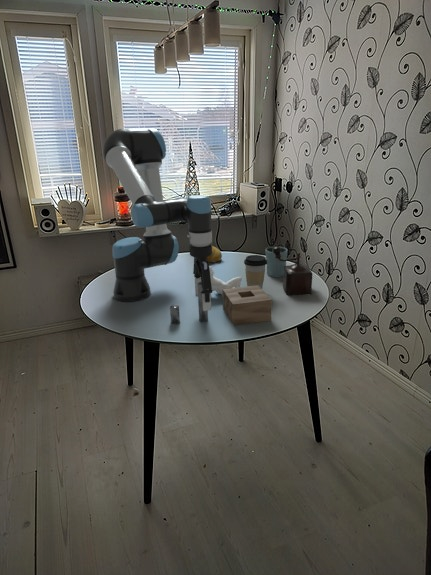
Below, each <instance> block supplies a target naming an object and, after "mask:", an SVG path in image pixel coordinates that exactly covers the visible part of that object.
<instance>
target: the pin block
mask: <svg viewBox="0 0 431 575" xmlns="http://www.w3.org/2000/svg"><path fill="white" fill-rule="evenodd" d="M272 304H273V301H272V298H271V297H270V296H269V295H268V294H267V293H266V292H265V290H263V288H262V289H261V288H260V287H259V286H258V285H256V286H240V287H239V288H235V287H234V288H230V289H223V294H222V310H223V311H224V313H225V314H226V316H227V318H228V319H229V321H230V322H231V324H232V326H236V325H237V326H238V325H246V324H252V323H253V324H254V323H259V322H269V321H271V320H272Z"/></svg>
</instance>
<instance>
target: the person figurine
mask: <svg viewBox="0 0 431 575" xmlns="http://www.w3.org/2000/svg"><path fill="white" fill-rule="evenodd" d="M209 270H210V278H211V286H212V292H216V293H217V294H220V295H223V289H230V288H239V287H241V284H242V281H243V279H242V276H236V277H233V278H232V279H229V280H228V281H227V282H225V281H223V280H222V279H220V278H218V277H215V276H214V274H215V272H214V270H213V267H212V266H209Z"/></svg>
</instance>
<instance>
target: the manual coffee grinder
mask: <svg viewBox="0 0 431 575" xmlns="http://www.w3.org/2000/svg"><path fill="white" fill-rule="evenodd" d="M273 247H274V248H273V250H272V252H273V253H274V254H275V258H278V260H280V261H286V262H289V261H294V260H297V261H295V262H294V264H291V265H286V266H284V276H282V277H283V280H282V289H283V292H284V294H285V295H286V296H287V295H288V296H304V295H303V294H310V295H312V285H313V272H312V271H311V269H310V267H309V266H308V264H306V265H304V264H302V263H300V258H301V253H300V252H297V254H296V255H297V256H295V257H290V258H287V259H281V254H280V253H281V248H280V247H281V246H273Z"/></svg>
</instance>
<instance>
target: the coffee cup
mask: <svg viewBox="0 0 431 575" xmlns="http://www.w3.org/2000/svg"><path fill="white" fill-rule="evenodd" d="M243 263H244V266H245V267H244V268H245V269H244V270H245V280H246V285H247V286H256V285H258V286H259V287H260V288H261V289H262V290H263V285H264V282H265V281H264V280H265V273H266V266H267V260H266V256H265V255H261V254H251V255H247V256H246V257H245V259H244V262H243ZM247 286H246V287H247Z"/></svg>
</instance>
